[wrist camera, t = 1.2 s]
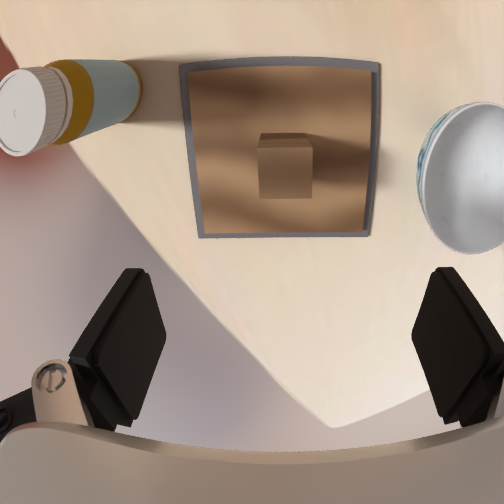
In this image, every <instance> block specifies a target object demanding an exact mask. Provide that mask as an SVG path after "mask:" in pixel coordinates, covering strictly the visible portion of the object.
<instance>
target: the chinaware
mask: <svg viewBox="0 0 504 504" xmlns="http://www.w3.org/2000/svg"><path fill="white" fill-rule="evenodd" d="M417 189H418V195H419V200H420V204H421V207H422V210H423V213H424V215H425V218H426V220H427V222H428V224H429V226H430V228H431V230H432V231H433V233H434V234H435V236H436V237H437V238H438V240H439V241H440V242H441V243H442V244H444V245H445V246H446V247H448V248H449V249H451V250H453V251H455V252H458V253H462V254H479V253H483V252H486V251H489V250H491V249H493V248H495V247H497V246H499V245H500V244H501V243H503V242H504V107H503V106H501V105H499V104H495V103H490V102H476V103H470V104H466V105H463V106H460V107H457V108H455V109H453V110H451V111H450V112H448V113H446V114H445V115H444V116H442V117H441V118H440V119H439V120H438V121H437V122H436V123H435V124H434V125H433V127H432V128H431V129H430V131H429V132H428V134H427V136H426V138H425V140H424V142H423V144H422V147H421V150H420V153H419V157H418V163H417Z"/></svg>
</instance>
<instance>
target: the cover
mask: <svg viewBox="0 0 504 504" xmlns="http://www.w3.org/2000/svg"><path fill="white" fill-rule="evenodd" d="M188 85H189V97H190V108H191V119H192V130H193V139H194V149H195V158H196V167H197V176H198V184H199V193H200V201H201V209H202V216H203V224H204V231H205V234H212V233H284V232H362V230H363V221H364V212H365V203H366V193H367V181H368V168H369V153H370V133H371V70H362V69H352V68H339V67H321V66H257V67H239V68H226V69H216V70H206V71H198V72H190V73H188Z"/></svg>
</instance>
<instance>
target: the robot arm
mask: <svg viewBox="0 0 504 504" xmlns="http://www.w3.org/2000/svg"><path fill="white" fill-rule="evenodd" d="M165 341H166V331H165V327H164V324H163V321H162V318H161V315H160V311H159V308H158V304H157V301H156V297H155V294H154V290H153V286H152V283H151V279H150V276H149V274H148V273H145V271H144V270H143V269H140V268H127V269H125V270H124V271H123V273H122V274H121V276H120V277H119V279H118V280H117V281H116V283H115V284H114V286H113V287H112V289H111V290H110V292H109V293H108V295H107V296H106V298H105V299H104V300H103V302H102V303H101V305H100V306H99V308H98V310H97V311H96V313H95V314H94V316H93V317H92V319H91V321H90V322H89V324H88V325H87V327H86V328H85V330H84V331H83V333H82V335H81V336H80V338H79V340H78V341H77V343H76V344H75V346H74V348H73V349H72V351H71V353H70V354H69V356H70V359H69V361H68V363H67V362H65V361H63V360H60V359H54V360H50V361H48V362H45V363H43V364H42V365H41V366H40V367H38V368H37V370H36V371H35V373H34V374H33V377H32V382H31V386H32V387H31V388H29V389H27V390H25V391H22V392H20V393H18V394H16V395H14V396H12V397H9V398H7V399H5V400H3V401H1V402H0V504H504V342H503V340H502V339H501V337H500V335H499V334H498V332H497V330H496V329H495V327H494V325H493V324H492V322H491V321H490V319H489V318H488V316H487V314H486V313H485V311H484V310H483V308H482V307H481V305H480V304H479V302H478V301H477V299H476V298H475V297H474V295H473V294H472V292H471V291H470V289H469V288H468V287H467V285H466V284H465V282H464V281H463V280H462V278H461V277H460V276H459V274H458V273H457V272H456V270H455V269H454V268H453V267H438V268H437V269H436V270H435V272H432V274H431V276H430V279H429V282H428V286H427V289H426V292H425V295H424V298H423V301H422V304H421V307H420V310H419V313H418V316H417V318H416V321H415V324H414V327H413V329H412V341H413V344H414V346H415V349H416V352H417V354H418V357H419V360H420V362H421V365H422V368H423V370H424V373H425V376H426V379H427V382H428V385H429V388H430V391H431V393H432V396H433V400H434V402H435V406H436V409H437V412H438V414H439V416H440V417H443V421H444V424H449V423H453V422H457V421H458V420H459V421H460V425H461V426H460V428H459V429H456V430H452V431H448V432H444V433H440V434H436V435H432V436H427V437H422V438H418V439H413V440H408V441H402V442H396V443H390V444H384V445H377V446H369V447H360V448H351V449H341V450H327V451H307V452H260V451H259V452H258V451H239V450H224V449H213V448H204V447H195V446H187V445H181V444H173V443H167V442H162V441H156V440H151V439H145V438H140V437H135V436H130V435H125V434H121V433H116V432H115V429H116V426H117V424H118V425H122V426H127V427H131V425H132V422H133V420H136V419H137V418H138V416H139V414H140V410H141V408H142V405H143V402H144V399H145V397H146V394H147V391H148V388H149V385H150V382H151V380H152V377H153V374H154V371H155V369H156V366H157V363H158V360H159V358H160V355H161V352H162V350H163V347H164V344H165Z"/></svg>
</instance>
